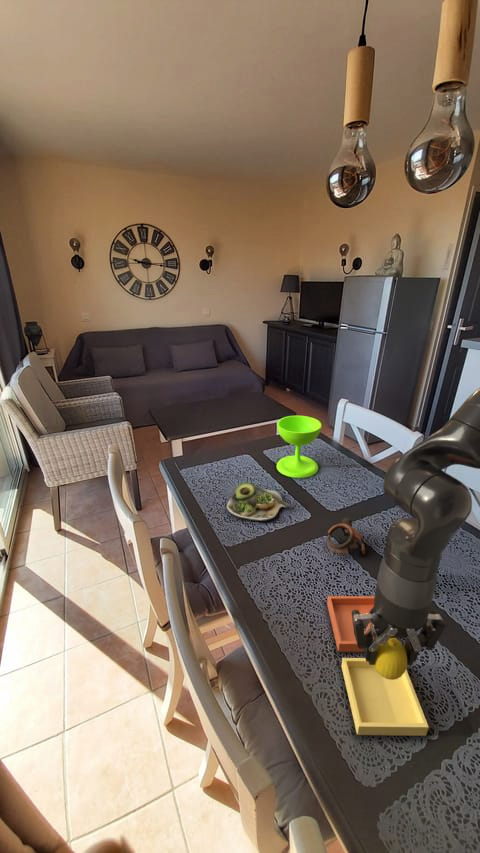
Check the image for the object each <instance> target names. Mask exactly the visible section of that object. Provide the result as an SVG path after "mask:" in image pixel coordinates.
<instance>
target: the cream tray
mask: <svg viewBox="0 0 480 853" xmlns="http://www.w3.org/2000/svg"><path fill="white" fill-rule="evenodd" d="M341 659H342V660H341V670H342V675H343V679H344V684H345V688H346V693H347V696H348V700H349V706H350V710H351V714H352V718H353V722H354V728H355V732H356V734H357V736H403V737H404V736H405V737H406V736H411V737H412V736H413V737H414V736H415V737H416V736H417V737H426V736H427V734H428V731H429V729H430V727H429V724H428V721H427V718H426V716H425V714H424V711H423V709H422V706H421V703H420V700H419V699H418V696H417V693H416V690H415V688H414V685H413V682H412V680H411V677H410V675H409V673H408V670H407V669H406V670H405V672H404V674H403V675H402V676H401V677H400V678H398V679H394V680H389V679H386V678H384V677H382V676H381V675H380V674H379V673H378V672H377V671H376V670H375V668H374V666H373V665H369V662H368V661H366V659H365V657H342V658H341Z"/></svg>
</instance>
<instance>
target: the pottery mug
mask: <svg viewBox="0 0 480 853" xmlns="http://www.w3.org/2000/svg"><path fill="white" fill-rule="evenodd" d="M338 529H340V530H341V531H342V534H343V537H347V538H348V539H347V540H346V541H345V542H344V543H340V544H336V543H333V542H332V540H331V536H332V534H333V533H334V532H335V531H336V530H338ZM358 544H360V545H361V551H362V555H365V554H366V548H365V541H364V538H363V536H362V534H361V533H360V532H359V531H358V530H357V529H356V528H355V527H353V522H352V519H351V518H350V517H344V518H343V519H342V521H341V523H337V524H335V525H332V526H331V527H330V528H329V530H327V537H326V547H327V548H328V549H329V550H330V551H331V552H332V553H333V554H345V555H347V556H349V555H350V554H349V548H350V549H358V548H359V545H358Z"/></svg>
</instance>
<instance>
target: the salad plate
mask: <svg viewBox="0 0 480 853" xmlns="http://www.w3.org/2000/svg"><path fill="white" fill-rule="evenodd" d="M289 507H290V503H288V502H287V501H284V500H283V498H282V496H281V494H280V493H279V492H277V491H276V490H271V489H266V488H261V487H258V486H257V485H256V484H253V483H250V482H243V483H241V484H239V485H238V486H236V488H235V490H234V491H233V494H232V495H231V497H230V499H229V500H228V502H227V504H226V505H225V509H226V511H227V513H229V514H230V515H231V516H232V517H235V518H237V519H243V520H246V521H247V520H248V521H258V522H259V521H260V522H265V521H270V520H272V519H275V517H276V516H277V515H278V513H279V511H280V510H281V509H282V508H289Z"/></svg>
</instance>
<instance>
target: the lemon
mask: <svg viewBox="0 0 480 853" xmlns="http://www.w3.org/2000/svg"><path fill="white" fill-rule="evenodd" d="M404 646H405V645H404V644H403V643H402V642H401V641H400V640H399V638H397V637H395V638H390V639H389V640H388V641H387V642H386V644H385V645H380V646H379V647H378V649H377V654H376V659H375V664H374V665H373V666H374V668H375V670H376V671H377V672H378V673H379V674H380V675H381V676H382V677H384V678H386V679H389V680H394V679H398V678H400V677H401V676H402V675H403V674H404V672H405V670H407V668H408V665H407V653H406V650H405V648H404Z"/></svg>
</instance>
